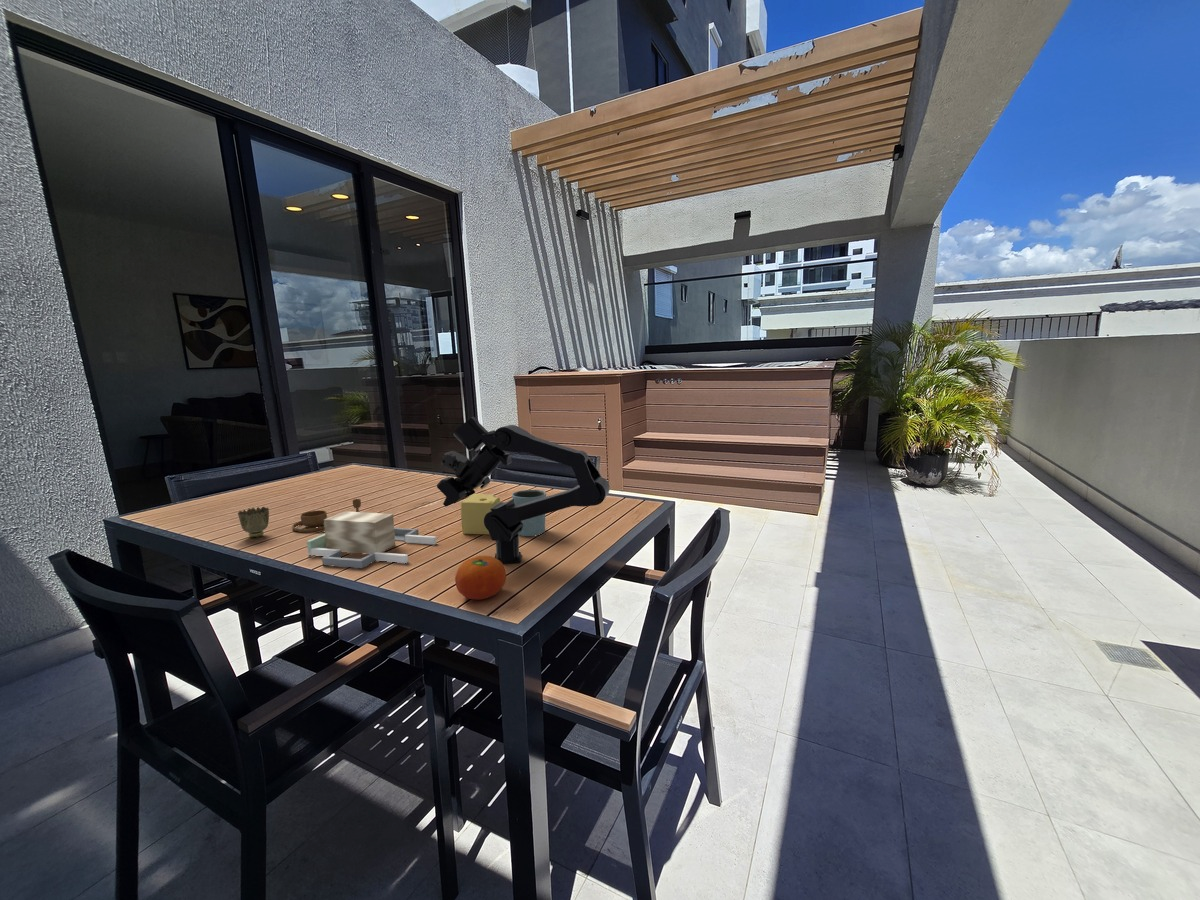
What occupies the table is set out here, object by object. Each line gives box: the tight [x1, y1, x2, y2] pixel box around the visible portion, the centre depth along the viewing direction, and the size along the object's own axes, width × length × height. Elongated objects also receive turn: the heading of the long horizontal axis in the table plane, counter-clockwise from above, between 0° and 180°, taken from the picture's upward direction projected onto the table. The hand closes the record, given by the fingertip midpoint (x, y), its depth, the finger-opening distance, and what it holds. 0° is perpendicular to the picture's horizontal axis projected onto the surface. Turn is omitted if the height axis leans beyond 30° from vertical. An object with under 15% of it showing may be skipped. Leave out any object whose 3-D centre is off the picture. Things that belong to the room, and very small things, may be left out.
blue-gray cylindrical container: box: [511, 489, 547, 537], centre depth 145 cm, size 10×10×12 cm
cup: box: [237, 506, 270, 539], centre depth 142 cm, size 8×7×8 cm
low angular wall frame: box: [306, 527, 437, 569], centre depth 131 cm, size 28×25×4 cm
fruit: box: [454, 555, 507, 600], centre depth 104 cm, size 11×10×8 cm
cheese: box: [460, 493, 503, 535], centre depth 148 cm, size 10×11×10 cm
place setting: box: [291, 498, 362, 534], centre depth 154 cm, size 18×20×6 cm
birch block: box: [323, 511, 396, 554], centre depth 132 cm, size 15×8×9 cm, turn 79°
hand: (444, 505), depth 126 cm, fingers closed
